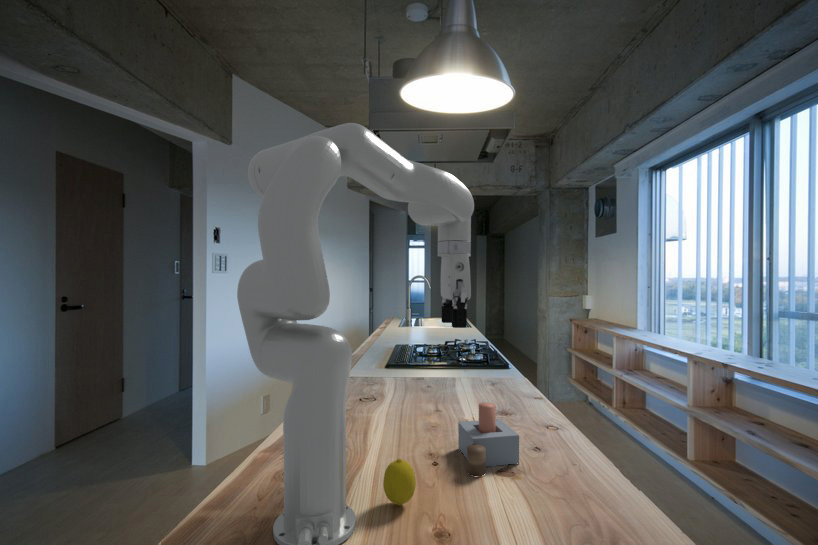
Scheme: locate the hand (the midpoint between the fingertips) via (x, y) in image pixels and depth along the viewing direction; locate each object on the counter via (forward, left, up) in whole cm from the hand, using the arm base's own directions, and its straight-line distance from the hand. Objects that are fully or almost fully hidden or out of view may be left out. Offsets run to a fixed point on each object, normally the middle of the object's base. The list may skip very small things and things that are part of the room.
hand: (453, 324), depth 100 cm
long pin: (-6, -6, -28) cm, 29 cm away
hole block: (-7, -6, -28) cm, 29 cm away
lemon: (-23, +16, -28) cm, 39 cm away
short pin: (-14, -1, -28) cm, 31 cm away
